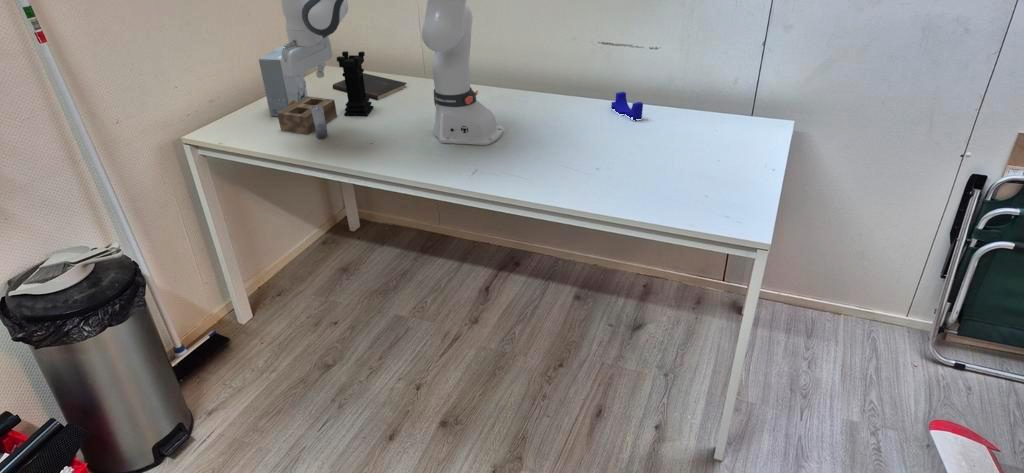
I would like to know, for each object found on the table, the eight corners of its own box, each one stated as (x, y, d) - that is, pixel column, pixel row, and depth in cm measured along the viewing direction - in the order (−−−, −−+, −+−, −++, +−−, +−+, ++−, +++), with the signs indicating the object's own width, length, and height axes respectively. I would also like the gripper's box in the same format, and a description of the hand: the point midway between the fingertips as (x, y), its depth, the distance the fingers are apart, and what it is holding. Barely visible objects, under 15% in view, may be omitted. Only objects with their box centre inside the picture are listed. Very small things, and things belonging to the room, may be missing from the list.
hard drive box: (290, 117, 223) (278, 60, 213) (269, 116, 224) (256, 59, 214) (309, 101, 236) (299, 46, 226) (289, 100, 237) (278, 45, 227)
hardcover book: (363, 78, 258) (362, 72, 257) (407, 88, 247) (406, 82, 246) (333, 90, 247) (332, 84, 246) (377, 101, 236) (376, 95, 235)
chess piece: (373, 107, 230) (365, 51, 219) (367, 116, 223) (358, 58, 212) (351, 107, 230) (342, 50, 220) (344, 116, 224) (334, 58, 213)
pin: (330, 135, 210) (325, 105, 205) (324, 139, 207) (318, 109, 202) (320, 133, 211) (315, 104, 206) (314, 138, 208) (308, 108, 203)
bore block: (337, 116, 223) (334, 99, 220) (309, 134, 211) (305, 117, 208) (310, 112, 227) (306, 96, 224) (281, 130, 214) (277, 113, 211)
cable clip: (611, 110, 224) (612, 93, 221) (622, 108, 226) (623, 91, 222) (629, 122, 215) (631, 105, 212) (641, 120, 216) (643, 103, 213)
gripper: (290, 47, 183) (299, 94, 191) (332, 28, 199) (339, 73, 207) (272, 45, 185) (281, 92, 192) (314, 26, 201) (322, 70, 209)
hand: (311, 82), depth 200 cm, fingers open, 8 cm apart
